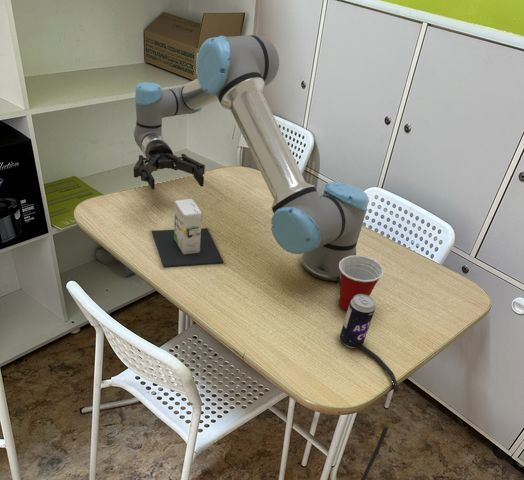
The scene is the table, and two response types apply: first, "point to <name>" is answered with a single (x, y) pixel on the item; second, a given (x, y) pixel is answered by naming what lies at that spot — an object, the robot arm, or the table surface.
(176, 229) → the ink box
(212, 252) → the mat
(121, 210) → the table surface
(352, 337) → the beverage can
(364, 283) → the plastic cup
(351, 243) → the robot arm
